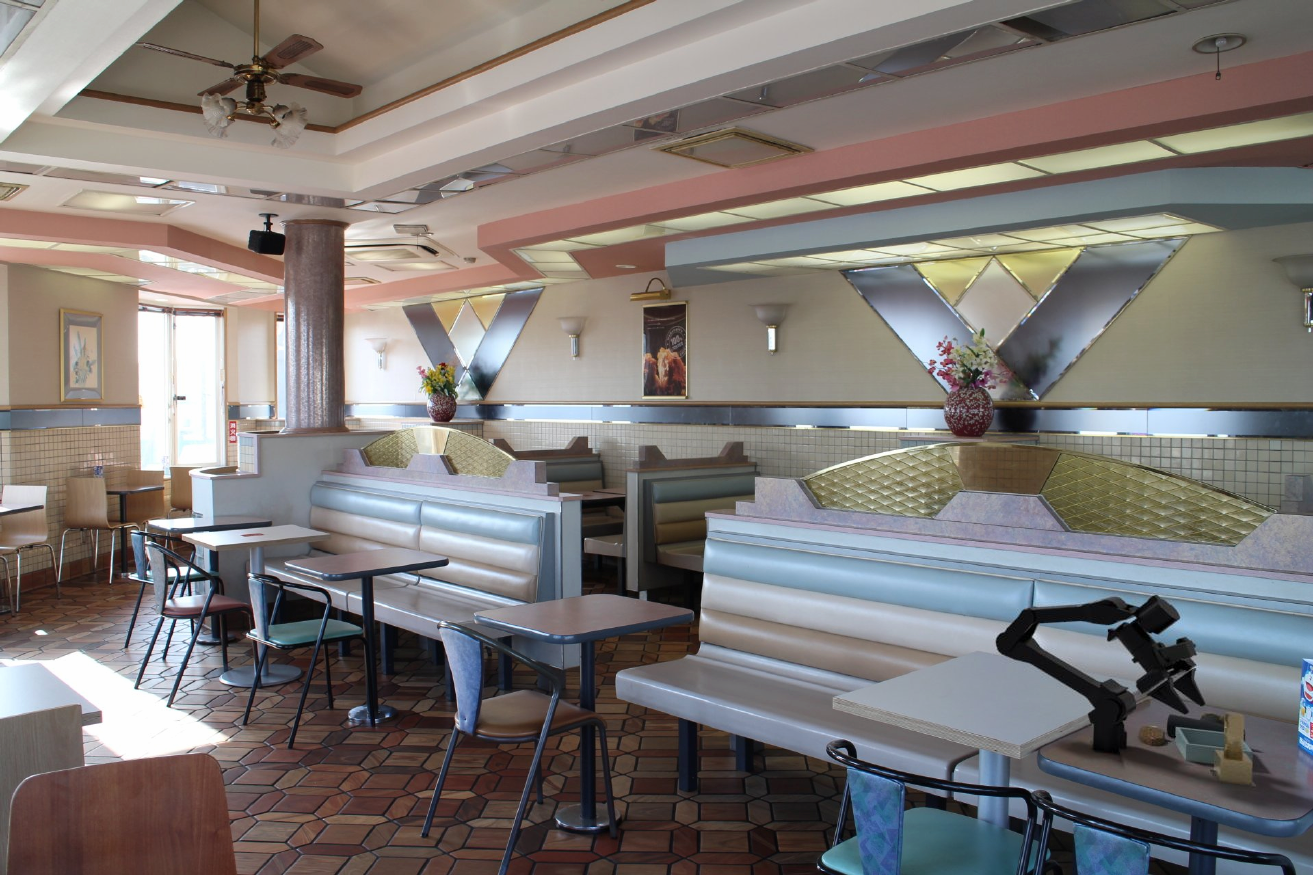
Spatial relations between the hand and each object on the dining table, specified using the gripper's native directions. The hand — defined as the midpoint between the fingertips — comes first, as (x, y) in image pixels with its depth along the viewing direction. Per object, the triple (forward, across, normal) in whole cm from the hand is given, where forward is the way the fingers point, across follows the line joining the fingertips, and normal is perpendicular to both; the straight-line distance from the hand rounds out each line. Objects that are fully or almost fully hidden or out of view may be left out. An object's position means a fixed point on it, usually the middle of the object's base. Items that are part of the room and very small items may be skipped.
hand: (1195, 709), depth 199 cm
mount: (+15, 0, +4) cm, 15 cm away
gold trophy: (+14, 0, +4) cm, 14 cm away
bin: (+9, +12, +10) cm, 18 cm away
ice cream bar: (0, +15, +20) cm, 24 cm away
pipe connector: (+6, +27, +14) cm, 31 cm away
